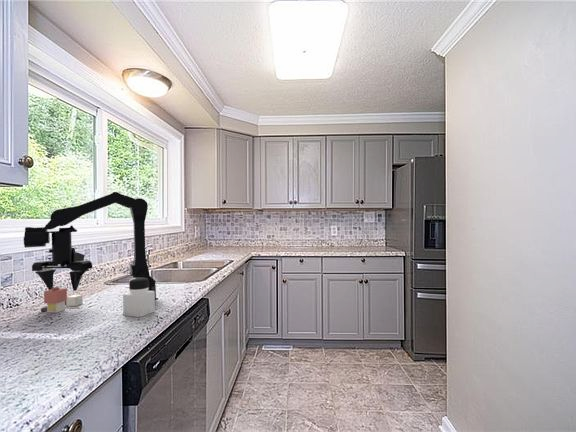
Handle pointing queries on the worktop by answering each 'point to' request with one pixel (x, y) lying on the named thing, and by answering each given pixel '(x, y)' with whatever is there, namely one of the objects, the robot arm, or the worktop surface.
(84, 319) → the worktop surface
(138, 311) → the medicine bottle
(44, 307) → the strip
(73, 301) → the white square block
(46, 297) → the cap
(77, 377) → the worktop surface
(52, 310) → the matte white cube
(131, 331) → the worktop surface
